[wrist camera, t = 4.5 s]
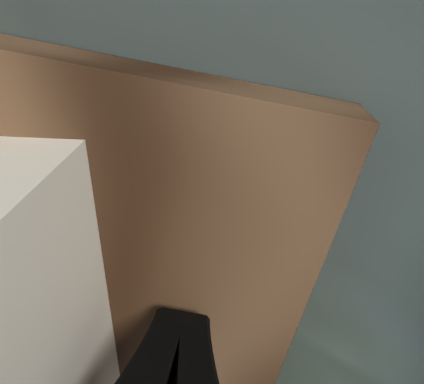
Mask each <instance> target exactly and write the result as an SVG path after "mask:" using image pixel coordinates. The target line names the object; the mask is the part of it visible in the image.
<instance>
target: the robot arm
mask: <svg viewBox="0 0 424 384" xmlns="http://www.w3.org/2000/svg"><path fill="white" fill-rule="evenodd" d="M114 384H219V379H218V375H217V370H216V365H215V360H214V354H213V348H212V341H211V331H210V319H209V317H208V316H207V315H203V314H197V313H192V312H187V311H181V310H176V309H170V308H165V307H161V308H159V309H157V311H156V314H155V316H154V318H153V321H152V323H151V325H150V327H149V329H148V331H147V333H146V334H145V336H144V338H143V340H142V341H141V343H140V345H139V347H138V348H137V350H136V352H135V353H134V355H133V356H132V358H131V359H130V361H129V362H128V364H127V366H126V367H125V369H124V370H123V372H122V373H121V375H120V376H119V378H118V379H117V381H116V382H115V383H114Z"/></svg>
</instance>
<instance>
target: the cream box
mask: <svg viewBox="0 0 424 384" xmlns="http://www.w3.org/2000/svg"><path fill="white" fill-rule="evenodd" d="M119 376H120V372H119V365H118V359H117V352H116V345H115V338H114V332H113V325H112V318H111V311H110V305H109V298H108V291H107V284H106V278H105V271H104V264H103V257H102V251H101V244H100V237H99V230H98V224H97V217H96V210H95V203H94V197H93V190H92V183H91V177H90V170H89V163H88V156H87V150H86V143H85V140H78V139H54V138H31V137H7V136H0V384H114V383H115V382H116V381H117V379H118V378H119Z"/></svg>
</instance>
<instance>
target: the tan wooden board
mask: <svg viewBox="0 0 424 384" xmlns="http://www.w3.org/2000/svg"><path fill="white" fill-rule="evenodd" d="M379 125H380V123H379V122H378V121H377V120H376V119H375V118H374V117H373V116H372V115H371V114H370V113H369V112H368V111H367V110H366V109H365V108H364V107H363V106H362V105H361V104H358V103H353V102H347V101H342V100H337V99H332V98H327V97H322V96H317V95H312V94H307V93H302V92H296V91H291V90H286V89H281V88H276V87H271V86H266V85H261V84H256V83H251V82H246V81H240V80H235V79H230V78H225V77H220V76H215V75H210V74H205V73H200V72H195V71H190V70H184V69H179V68H174V67H169V66H164V65H159V64H154V63H149V62H144V61H139V60H134V59H128V58H123V57H118V56H113V55H108V54H103V53H98V52H93V51H88V50H83V49H78V48H72V47H67V46H62V45H57V44H52V43H47V42H42V41H37V40H32V39H27V38H22V37H16V36H11V35H6V34H1V33H0V136H7V137H31V138H54V139H78V140H85V143H86V150H87V156H88V163H89V170H90V177H91V183H92V190H93V197H94V203H95V210H96V217H97V224H98V230H99V237H100V244H101V251H102V257H103V264H104V271H105V278H106V284H107V291H108V298H109V305H110V311H111V318H112V325H113V332H114V338H115V345H116V352H117V359H118V365H119V372H120V375H121V373H122V372H123V370H124V369H125V367H126V366H127V364H128V362H129V361H130V359H131V358H132V356H133V355H134V353H135V352H136V350H137V348H138V347H139V345H140V343H141V341H142V340H143V338H144V336H145V334H146V333H147V331H148V329H149V327H150V325H151V323H152V321H153V318H154V316H155V314H156V311H157V309H159V308H161V307H165V308H170V309H176V310H181V311H187V312H192V313H197V314H203V315H207V316H208V317H209V319H210V331H211V341H212V348H213V354H214V360H215V365H216V370H217V375H218V379H219V384H275V382H276V379H277V377H278V375H279V372H280V370H281V367H282V365H283V362H284V360H285V357H286V355H287V352H288V350H289V347H290V345H291V342H292V340H293V337H294V335H295V332H296V330H297V328H298V325H299V323H300V320H301V318H302V315H303V313H304V310H305V308H306V305H307V303H308V300H309V298H310V295H311V293H312V290H313V288H314V286H315V283H316V281H317V278H318V276H319V273H320V271H321V268H322V266H323V263H324V261H325V258H326V256H327V253H328V251H329V248H330V246H331V244H332V241H333V239H334V236H335V234H336V231H337V229H338V226H339V224H340V221H341V219H342V216H343V214H344V211H345V209H346V206H347V204H348V201H349V199H350V197H351V194H352V192H353V189H354V187H355V184H356V182H357V179H358V177H359V174H360V172H361V169H362V167H363V164H364V162H365V159H366V157H367V155H368V152H369V150H370V147H371V145H372V142H373V140H374V137H375V135H376V132H377V130H378V127H379Z"/></svg>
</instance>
